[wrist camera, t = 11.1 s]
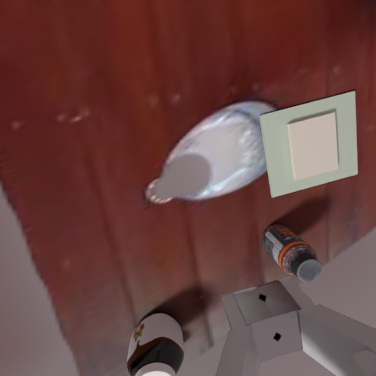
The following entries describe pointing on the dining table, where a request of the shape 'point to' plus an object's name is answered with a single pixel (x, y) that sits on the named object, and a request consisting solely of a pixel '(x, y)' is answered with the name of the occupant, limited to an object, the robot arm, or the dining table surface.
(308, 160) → the tile
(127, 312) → the dining table surface
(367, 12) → the dining table surface
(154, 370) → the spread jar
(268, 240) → the supplement bottle
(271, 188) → the mat
